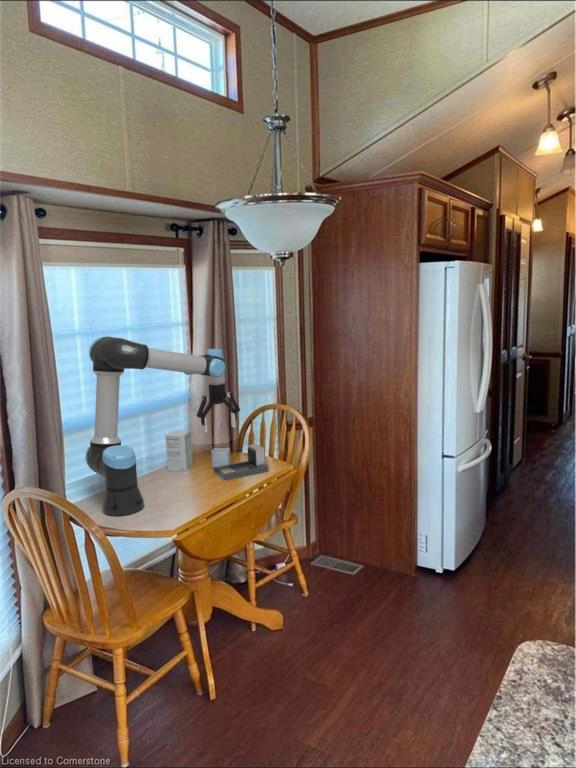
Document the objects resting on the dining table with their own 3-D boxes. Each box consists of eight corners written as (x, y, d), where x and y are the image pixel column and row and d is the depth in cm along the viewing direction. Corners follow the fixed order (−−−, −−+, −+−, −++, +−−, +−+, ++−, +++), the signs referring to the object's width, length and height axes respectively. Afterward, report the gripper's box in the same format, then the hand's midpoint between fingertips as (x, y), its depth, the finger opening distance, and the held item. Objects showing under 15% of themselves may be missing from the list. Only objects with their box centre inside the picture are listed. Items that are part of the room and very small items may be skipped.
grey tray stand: (224, 480, 242) (222, 457, 240) (213, 473, 252) (212, 450, 251) (268, 471, 252) (267, 448, 250) (256, 464, 262) (255, 442, 260)
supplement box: (174, 464, 267) (171, 429, 264) (193, 464, 266) (190, 429, 263) (167, 471, 258) (164, 435, 255) (187, 471, 257) (184, 435, 254)
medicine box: (231, 466, 262) (230, 447, 260) (229, 469, 257) (228, 450, 256) (214, 466, 263) (213, 448, 261) (212, 469, 258) (211, 450, 257)
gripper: (238, 379, 262) (241, 423, 266) (187, 385, 251) (190, 432, 254) (245, 381, 256) (248, 426, 260) (192, 388, 244) (196, 435, 248)
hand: (219, 429), depth 257 cm, fingers open, 13 cm apart
